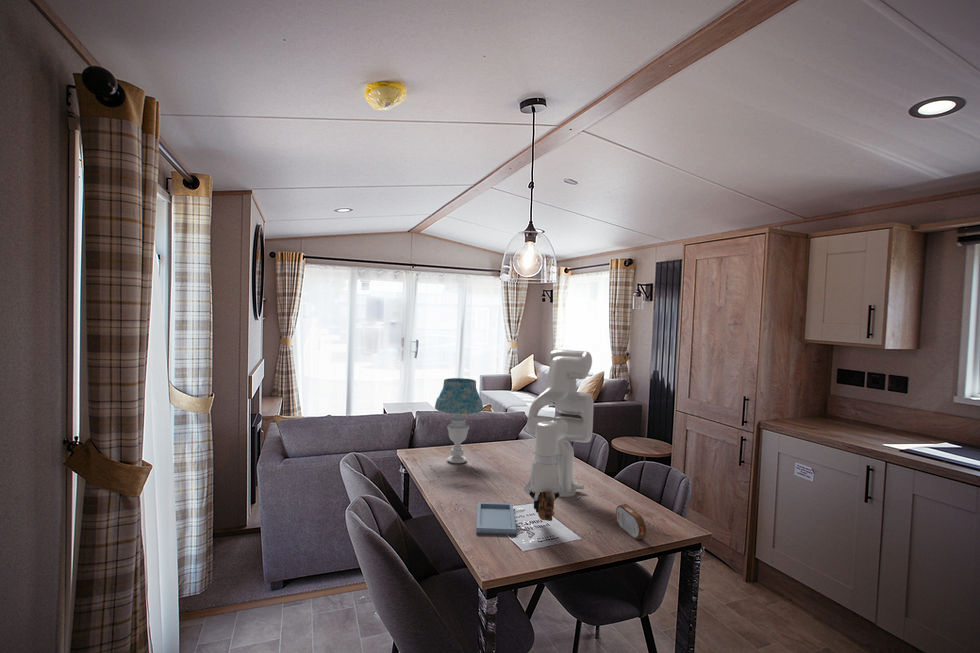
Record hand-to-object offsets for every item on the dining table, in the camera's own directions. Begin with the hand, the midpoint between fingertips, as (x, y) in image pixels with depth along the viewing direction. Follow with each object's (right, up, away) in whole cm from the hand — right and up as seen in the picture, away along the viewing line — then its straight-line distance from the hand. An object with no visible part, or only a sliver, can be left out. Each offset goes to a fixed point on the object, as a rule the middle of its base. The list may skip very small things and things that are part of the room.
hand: (543, 510), depth 160 cm
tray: (-17, -6, +5) cm, 18 cm away
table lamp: (-35, -4, +71) cm, 79 cm away
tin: (+29, -8, 0) cm, 31 cm away
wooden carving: (0, -3, 0) cm, 3 cm away
